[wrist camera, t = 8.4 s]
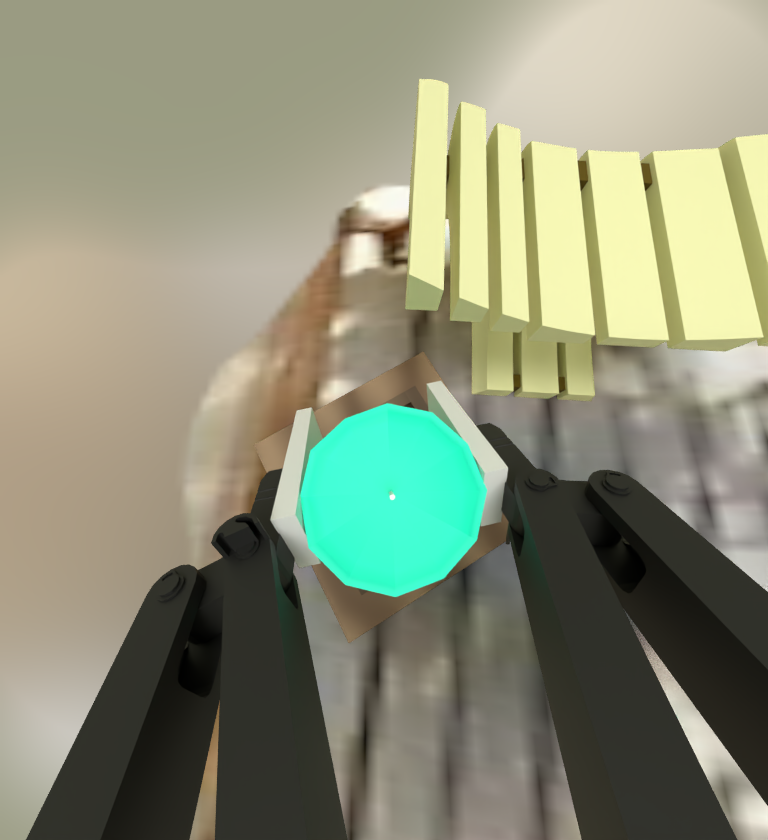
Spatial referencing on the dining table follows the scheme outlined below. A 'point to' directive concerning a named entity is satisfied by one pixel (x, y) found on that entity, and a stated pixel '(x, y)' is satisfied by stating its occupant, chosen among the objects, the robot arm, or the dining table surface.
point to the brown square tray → (393, 387)
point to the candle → (392, 499)
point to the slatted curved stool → (582, 248)
